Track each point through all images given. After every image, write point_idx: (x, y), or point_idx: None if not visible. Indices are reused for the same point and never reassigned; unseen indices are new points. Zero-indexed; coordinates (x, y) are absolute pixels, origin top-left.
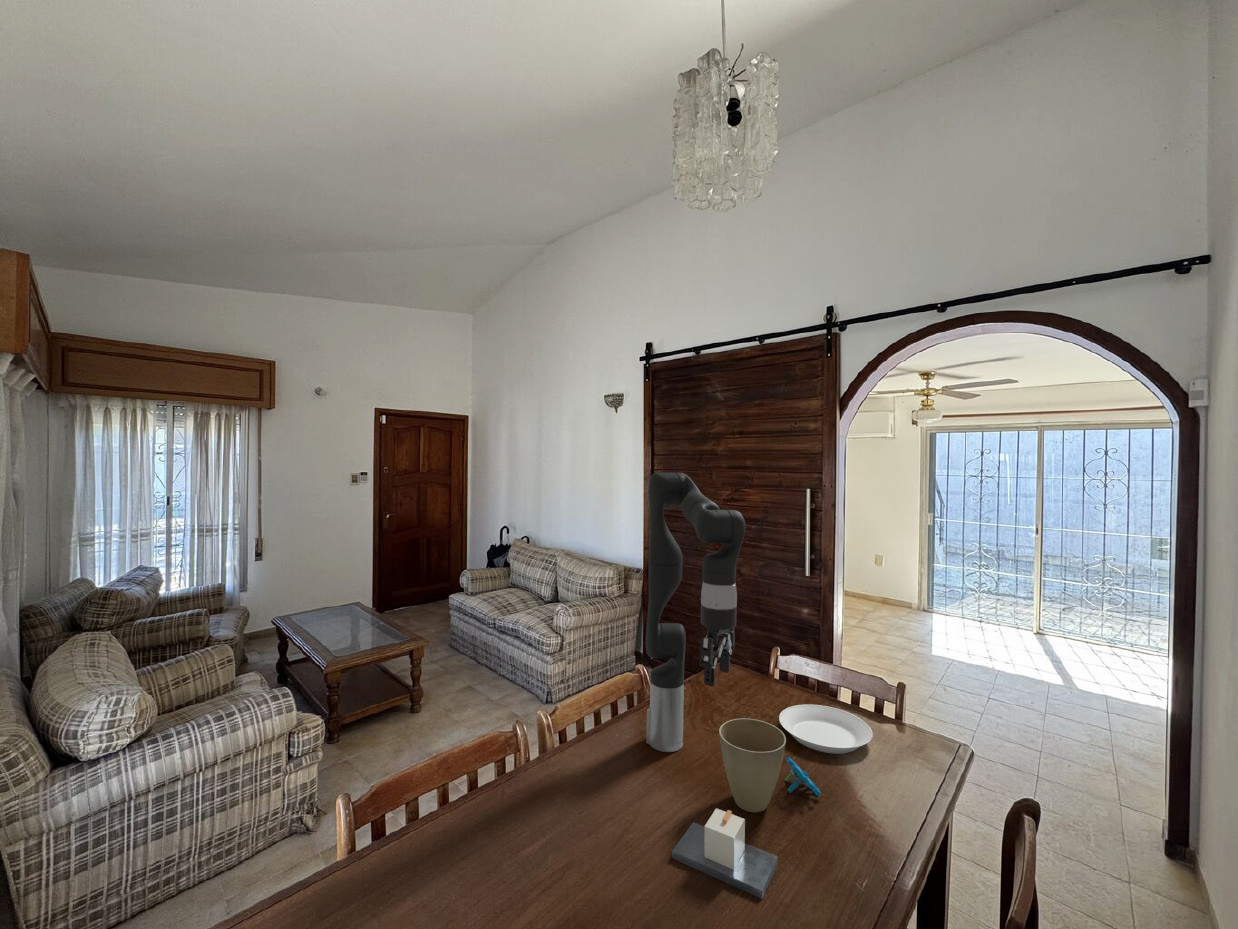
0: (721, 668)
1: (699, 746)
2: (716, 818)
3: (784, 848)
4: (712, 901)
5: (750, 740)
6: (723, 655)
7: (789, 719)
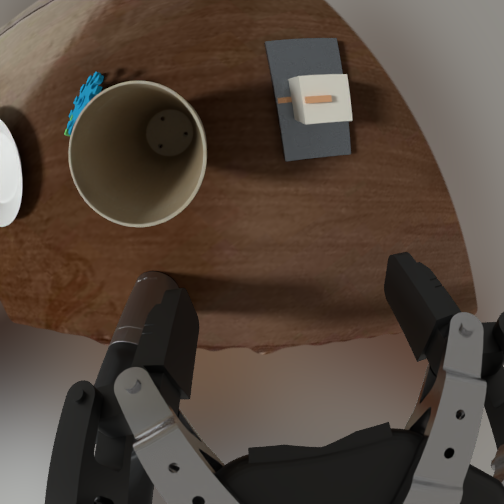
0: (194, 326)
1: (124, 258)
2: (326, 113)
3: (228, 49)
4: (372, 85)
5: (107, 180)
6: (180, 386)
7: (5, 212)
